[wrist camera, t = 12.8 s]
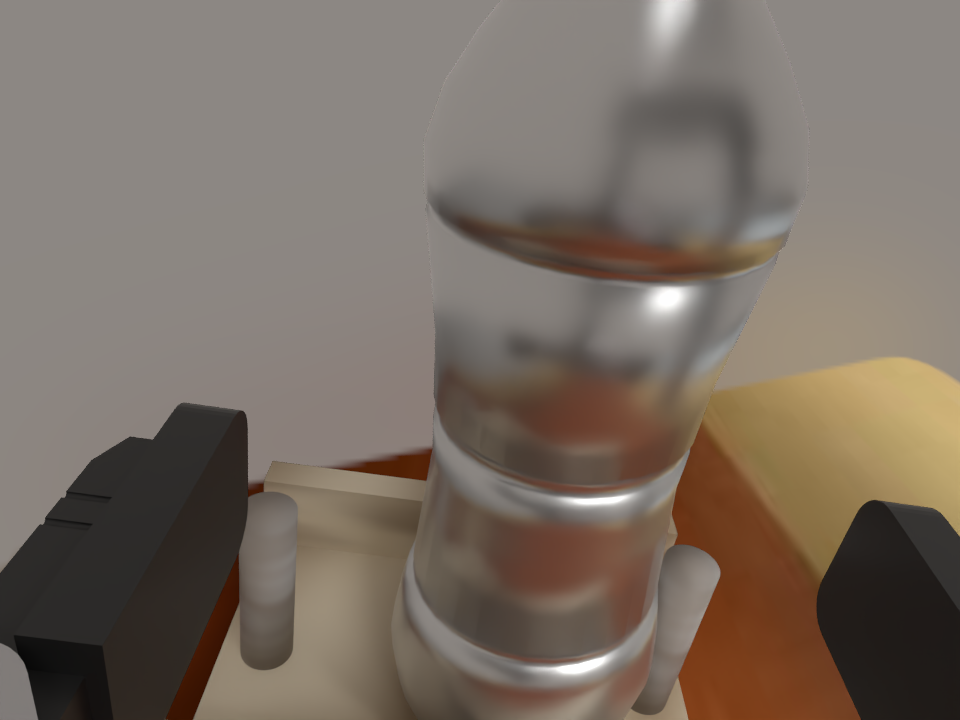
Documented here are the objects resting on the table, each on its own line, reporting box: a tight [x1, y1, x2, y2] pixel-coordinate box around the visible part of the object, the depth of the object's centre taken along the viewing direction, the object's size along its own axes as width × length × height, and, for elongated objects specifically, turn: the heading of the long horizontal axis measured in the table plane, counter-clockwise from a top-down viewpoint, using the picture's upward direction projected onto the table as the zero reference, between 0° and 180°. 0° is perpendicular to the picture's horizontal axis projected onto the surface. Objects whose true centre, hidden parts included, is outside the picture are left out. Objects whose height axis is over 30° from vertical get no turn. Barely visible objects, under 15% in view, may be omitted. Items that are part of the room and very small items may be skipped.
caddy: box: [165, 461, 720, 720], centre depth 20 cm, size 13×10×6 cm
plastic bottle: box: [391, 0, 809, 720], centre depth 15 cm, size 6×7×20 cm
